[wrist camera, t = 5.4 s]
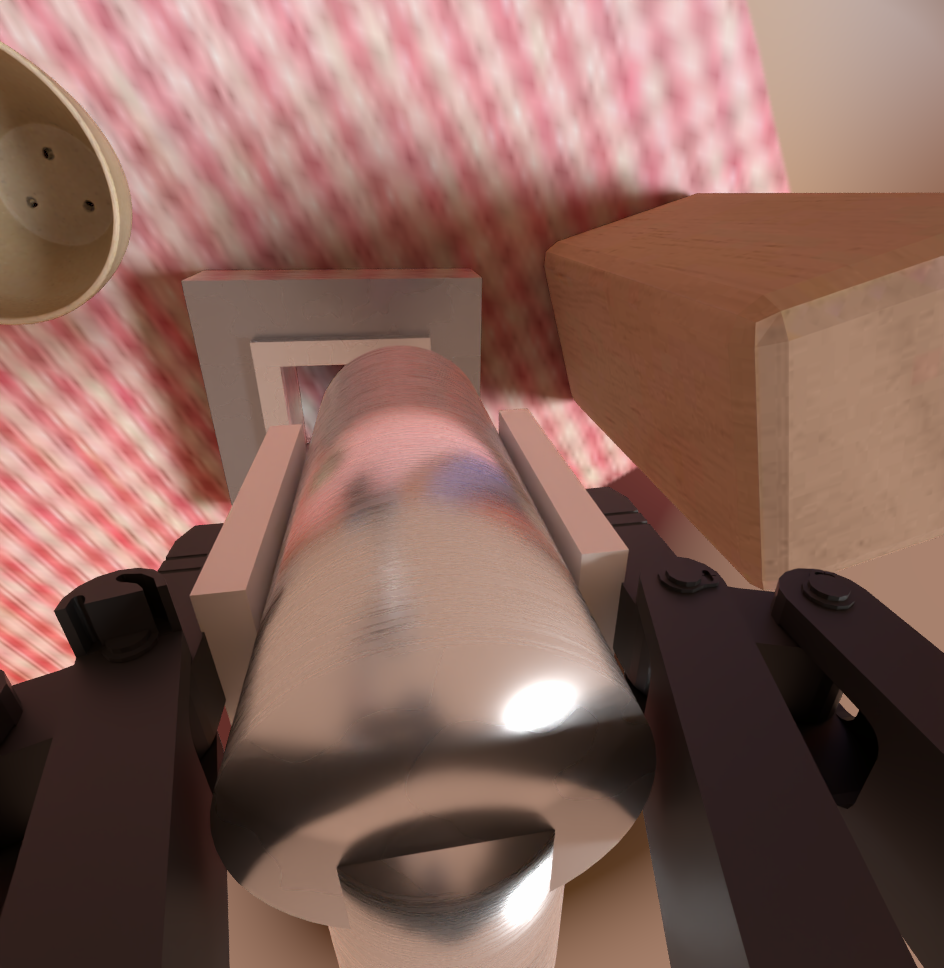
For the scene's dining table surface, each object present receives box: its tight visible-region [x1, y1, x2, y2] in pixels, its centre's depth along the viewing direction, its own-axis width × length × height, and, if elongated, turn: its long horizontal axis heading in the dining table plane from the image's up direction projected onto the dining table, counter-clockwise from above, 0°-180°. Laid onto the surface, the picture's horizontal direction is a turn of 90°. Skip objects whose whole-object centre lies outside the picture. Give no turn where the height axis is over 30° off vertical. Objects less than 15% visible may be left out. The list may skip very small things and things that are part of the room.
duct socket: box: [181, 268, 482, 505], centre depth 31 cm, size 14×14×5 cm
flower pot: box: [0, 41, 132, 325], centre depth 23 cm, size 10×10×7 cm
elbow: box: [210, 345, 657, 968], centre depth 12 cm, size 8×5×12 cm, turn 1°
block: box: [544, 193, 944, 590], centre depth 24 cm, size 10×10×20 cm
